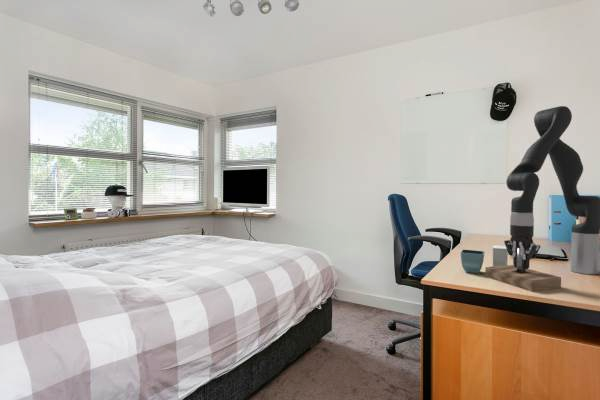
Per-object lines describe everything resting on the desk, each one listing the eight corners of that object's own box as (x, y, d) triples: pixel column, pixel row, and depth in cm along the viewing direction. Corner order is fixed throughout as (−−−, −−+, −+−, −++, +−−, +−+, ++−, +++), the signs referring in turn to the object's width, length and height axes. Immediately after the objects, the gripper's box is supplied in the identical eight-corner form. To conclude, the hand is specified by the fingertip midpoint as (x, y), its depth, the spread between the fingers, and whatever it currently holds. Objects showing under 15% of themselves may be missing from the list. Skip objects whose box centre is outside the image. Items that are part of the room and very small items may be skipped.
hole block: (485, 276, 133) (485, 267, 133) (512, 274, 137) (512, 264, 137) (531, 291, 114) (531, 280, 114) (560, 288, 118) (561, 277, 118)
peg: (520, 277, 127) (520, 246, 127) (527, 279, 124) (527, 248, 124) (514, 277, 126) (514, 247, 126) (521, 279, 124) (521, 248, 123)
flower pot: (484, 271, 143) (484, 250, 142) (483, 275, 135) (483, 254, 135) (462, 268, 147) (462, 249, 147) (460, 272, 140) (460, 252, 140)
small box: (507, 273, 139) (507, 248, 139) (492, 271, 142) (492, 247, 142) (507, 269, 146) (507, 246, 146) (492, 267, 149) (493, 245, 149)
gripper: (547, 225, 119) (546, 271, 120) (513, 222, 133) (512, 263, 133) (531, 226, 117) (530, 273, 118) (498, 222, 131) (498, 264, 131)
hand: (521, 267), depth 125 cm, fingers closed on peg, 3 cm apart
